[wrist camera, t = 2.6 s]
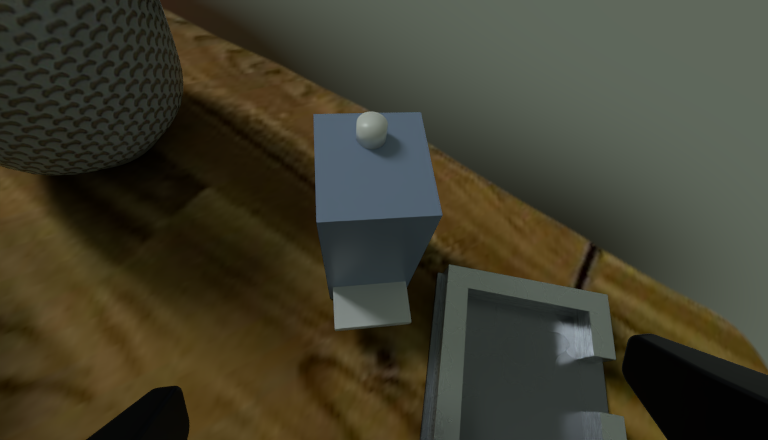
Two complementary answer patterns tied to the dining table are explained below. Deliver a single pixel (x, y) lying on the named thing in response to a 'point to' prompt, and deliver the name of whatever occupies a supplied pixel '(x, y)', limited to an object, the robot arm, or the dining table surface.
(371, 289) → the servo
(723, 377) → the robot arm
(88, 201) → the dining table surface
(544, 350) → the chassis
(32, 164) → the planter
